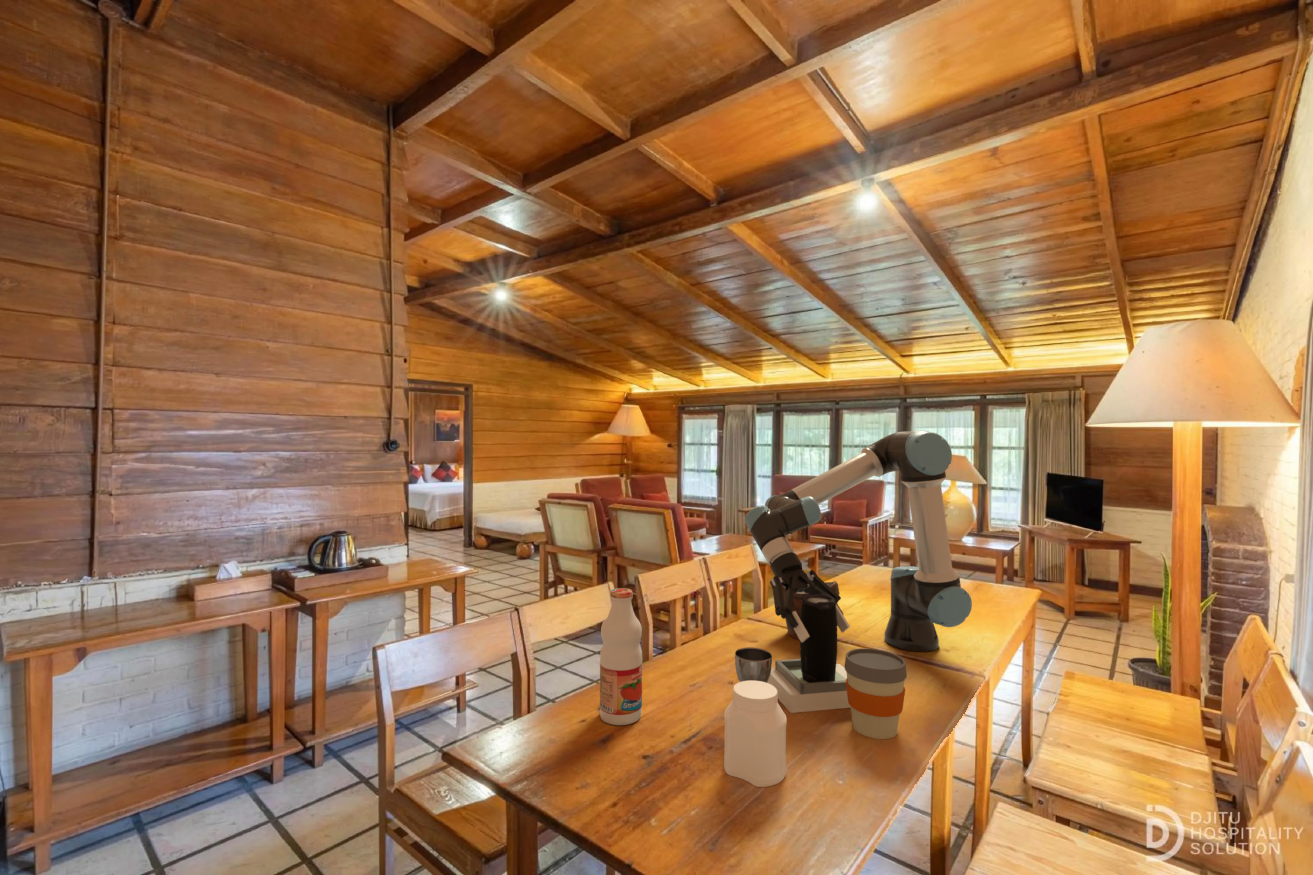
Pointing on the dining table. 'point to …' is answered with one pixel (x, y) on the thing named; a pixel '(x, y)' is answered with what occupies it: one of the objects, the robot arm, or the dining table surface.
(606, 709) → the fruit juice
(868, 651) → the reusable coffee cup
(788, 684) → the dock
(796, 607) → the brown tapered open container
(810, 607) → the portable speaker
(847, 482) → the robot arm
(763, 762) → the jar
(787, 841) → the dining table surface
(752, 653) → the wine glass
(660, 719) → the dining table surface
